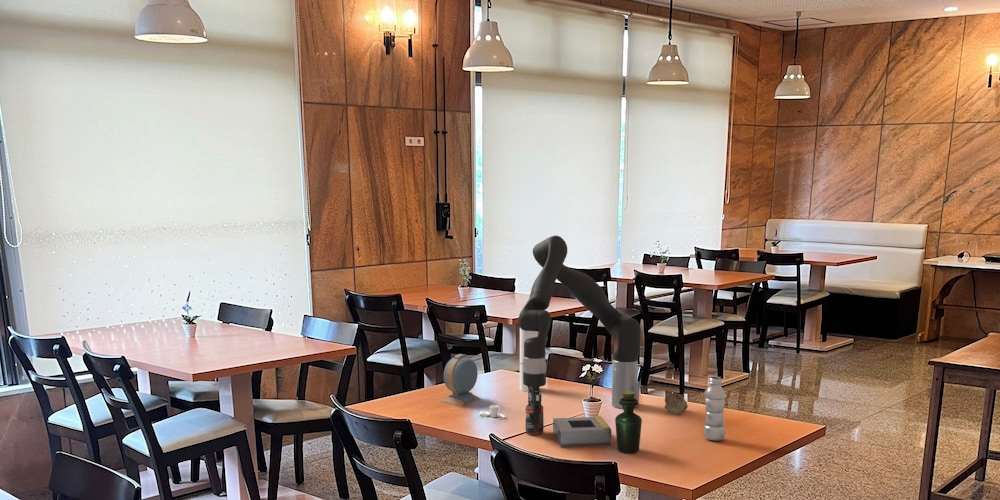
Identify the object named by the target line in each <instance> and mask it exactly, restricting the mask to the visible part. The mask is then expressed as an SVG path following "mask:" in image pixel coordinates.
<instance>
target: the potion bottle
mask: <svg viewBox="0 0 1000 500" xmlns="http://www.w3.org/2000/svg"><path fill="white" fill-rule="evenodd" d="M634 396H635V392H633V391H623V398H621V399H620V401H619V404H621V405H622V406H623V408H622V410H623V411H622V412H621V413H619V414H618V415H616V417H615V419H614V423H615V432H616V433H615V434H616V435H615V436H616V449H617V450H618V451H619V452H620V453H622V454H631V455H632V454H637V453H638V452H640V444H641V433H642V432H641V431H642V423H643V422H642V421H643V420H642V417H641V416H640V415H638V414H637V413H635V412H634V411H635V408H636V407H635V406H636V405H638V401H637V399H634Z"/></svg>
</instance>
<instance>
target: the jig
mask: <svg viewBox="0 0 1000 500" xmlns="http://www.w3.org/2000/svg"><path fill="white" fill-rule="evenodd" d="M612 431H613V430H612V428H611V427H610V425H609V424H608V423H607V422H606V420H605V419H604V418H603V416H602V415H593V416H589V417H588V416H585V417H556V418H554V417H553V420H552V434H553V436H554V437H555V438H554V439H556V441H557V443H558V445H559V447H560V448H575V447H577V448H578V447H580V448H582V447H602V446H603V447H605V446H612Z"/></svg>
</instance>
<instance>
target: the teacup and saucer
mask: <svg viewBox="0 0 1000 500" xmlns="http://www.w3.org/2000/svg"><path fill="white" fill-rule="evenodd" d="M499 410H500V411H499ZM479 416H481V417H482V418H483V419H485V420H489V421H494V420H495V421H497V420H499V421H500V420H502V419H505V418H506V416H505V414H502V409H501V407H499V405H497V404H492V405H490V406H489V411H485V410H480V411H479ZM498 416H501V417H499V418H497V417H498ZM488 417H491V418H488Z"/></svg>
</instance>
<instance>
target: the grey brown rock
mask: <svg viewBox="0 0 1000 500" xmlns="http://www.w3.org/2000/svg"><path fill="white" fill-rule="evenodd" d="M664 402H665V404H664V409H666V410H668V412H670V414H673V415H679V414H681V413H683V412H685V411H686V410H687V409H688V407H689V406H688V402H687V401H686V399H685V397H683V396H682V395H681V394H680V393H674V392H673V393H670V394H667V395H666V396H665V397H664Z"/></svg>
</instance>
